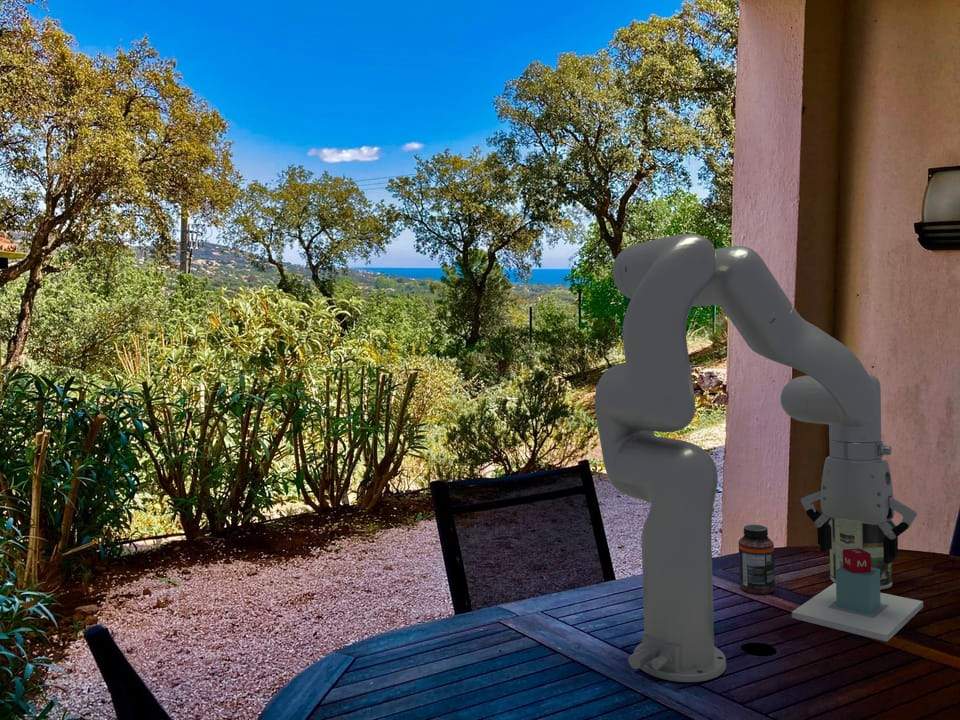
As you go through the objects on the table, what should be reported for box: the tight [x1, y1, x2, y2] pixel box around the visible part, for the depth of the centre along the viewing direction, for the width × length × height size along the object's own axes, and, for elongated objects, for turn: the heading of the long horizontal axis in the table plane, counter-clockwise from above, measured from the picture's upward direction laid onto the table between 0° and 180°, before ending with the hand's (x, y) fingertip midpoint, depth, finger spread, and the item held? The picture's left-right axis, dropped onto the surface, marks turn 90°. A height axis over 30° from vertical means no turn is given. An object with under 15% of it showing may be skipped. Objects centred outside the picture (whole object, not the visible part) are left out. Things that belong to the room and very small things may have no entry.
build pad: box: [791, 582, 924, 643], centre depth 120 cm, size 18×14×1 cm
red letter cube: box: [843, 549, 871, 573], centre depth 119 cm, size 3×3×3 cm
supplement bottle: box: [738, 524, 776, 595], centre depth 132 cm, size 6×6×11 cm
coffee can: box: [829, 518, 893, 591], centre depth 134 cm, size 10×10×14 cm
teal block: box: [836, 566, 881, 614], centre depth 120 cm, size 5×5×6 cm
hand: (856, 555), depth 119 cm, fingers open, 9 cm apart
